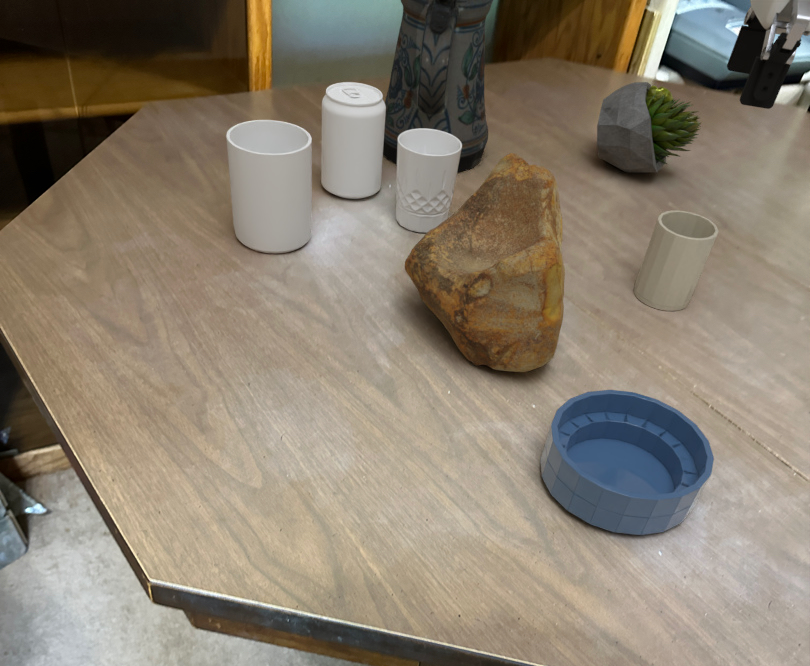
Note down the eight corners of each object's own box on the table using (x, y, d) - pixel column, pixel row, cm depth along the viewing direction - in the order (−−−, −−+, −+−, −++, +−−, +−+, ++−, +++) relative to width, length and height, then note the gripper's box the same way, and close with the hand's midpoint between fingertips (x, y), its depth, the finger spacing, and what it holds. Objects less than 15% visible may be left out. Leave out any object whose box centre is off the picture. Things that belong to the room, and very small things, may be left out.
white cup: (412, 240, 97) (420, 159, 90) (380, 212, 101) (385, 133, 94) (462, 229, 100) (474, 149, 93) (429, 202, 105) (438, 124, 97)
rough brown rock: (408, 265, 95) (408, 139, 83) (543, 269, 94) (563, 142, 83) (399, 387, 80) (398, 254, 68) (559, 392, 79) (586, 259, 68)
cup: (683, 283, 96) (711, 213, 90) (694, 314, 92) (724, 242, 85) (630, 277, 96) (653, 207, 89) (637, 307, 92) (663, 235, 85)
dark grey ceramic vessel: (458, 125, 123) (485, -70, 104) (511, 180, 112) (551, -29, 93) (360, 131, 118) (369, -73, 99) (404, 188, 107) (424, -30, 88)
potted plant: (610, 116, 123) (710, 110, 117) (596, 193, 122) (695, 192, 116) (599, 64, 111) (709, 55, 105) (583, 149, 111) (692, 145, 105)
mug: (226, 250, 92) (217, 148, 83) (247, 204, 100) (241, 107, 91) (305, 260, 92) (304, 159, 83) (320, 213, 100) (320, 117, 91)
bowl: (677, 438, 76) (696, 398, 72) (706, 547, 67) (729, 507, 63) (535, 423, 76) (546, 382, 72) (544, 530, 66) (558, 489, 62)
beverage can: (333, 205, 102) (335, 107, 93) (312, 178, 106) (312, 82, 97) (389, 198, 104) (396, 103, 95) (367, 172, 109) (371, 78, 100)
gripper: (907, -106, 60) (800, 127, 73) (855, -141, 71) (770, 65, 84) (811, -121, 60) (721, 113, 73) (774, -154, 71) (702, 54, 84)
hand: (747, 88), depth 78 cm, fingers open, 9 cm apart
